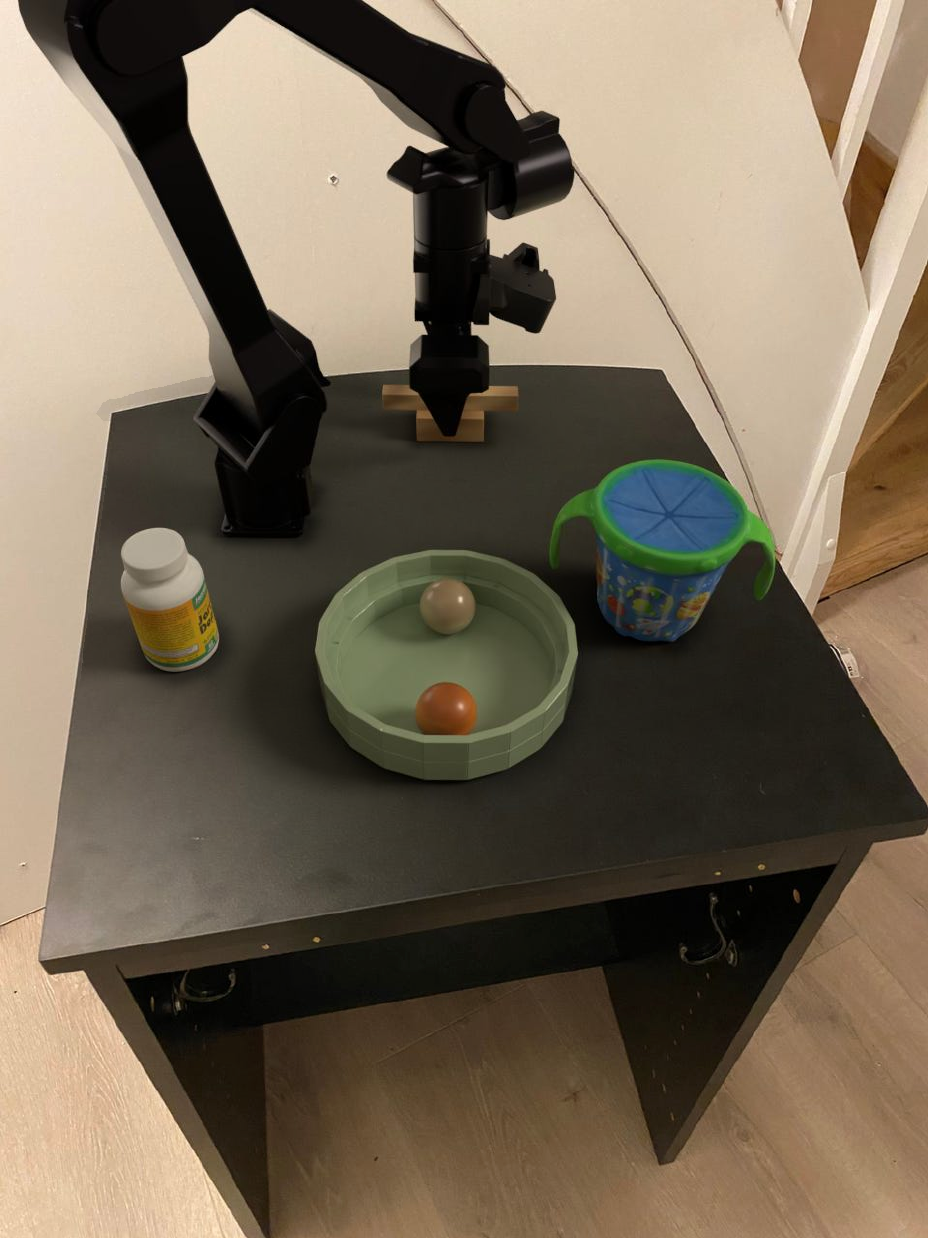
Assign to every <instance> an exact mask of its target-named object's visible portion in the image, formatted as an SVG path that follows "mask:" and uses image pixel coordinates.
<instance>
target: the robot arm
mask: <svg viewBox="0 0 928 1238" xmlns="http://www.w3.org/2000/svg"><path fill="white" fill-rule="evenodd" d="M17 5H18V11H19V13H20V16H21V18H22V22H23V25H24V27H25V30H26V32H27V33H28V34H29V36H30V38H31V39H32V40H33V42H34V43H35V45H36V46H37V47H38V49H39V50H40V51H41V53H42V55H43V56H44V57H45V58H46V60H47V62H48V63H49V64H50V65H51V67H52V68H53V69H54V71H55V72H56V73H57V75H58V77H59V78H60V79H61V80H62V82H63V83H64V84H65V86H66V88H68V90H69V91H70V92H71V93H72V94H73V96H74V97H75V98H76V99H77V100H78V102H79V103H80V104H81V105H82V106H83V108H84V109H85V110H86V111H87V112H88V113H89V115H90V116H91V117H92V118H93V120H94V121H95V122H96V123H97V124H98V125H99V127H100V128H101V130H103V131H104V133H105V134H106V135H107V136H108V138H109V139H110V140H111V142H112V143H113V144H114V147H115V149H116V150H117V152H118V154H119V156H120V158H121V160H122V162H123V164H124V166H125V168H126V170H127V172H128V174H129V176H130V178H131V180H132V183H133V184H134V186H135V188H136V190H137V192H138V194H139V196H140V198H141V200H142V202H143V204H144V206H145V208H146V210H147V212H148V214H149V216H150V218H151V219H152V222H153V223H154V225H155V228H156V230H157V231H158V234H159V236H160V237H161V240H162V242H163V243H164V245H165V247H166V249H167V251H168V253H169V256H170V257H171V259H172V261H173V264H174V266H175V267H176V270H177V272H178V274H179V275H180V277H181V280H182V281H183V283H184V286H185V287H186V289H187V291H188V294H189V295H190V297H191V299H192V301H193V303H194V304H195V307H196V309H197V311H198V313H199V315H200V317H201V319H202V321H203V323H204V325H205V327H206V330H207V333H208V361H209V365H210V369H211V372H212V375H213V377H214V383H213V385H212V386H211V388H209V389H210V390H209V391H208V393H207V394H206V396H205V397H204V399H203V401H202V403H201V404H200V406H199V408H198V409H197V410H196V412H195V414H194V416H193V422H195V424H196V426H197V427H198V428H199V429H200V431H201V432H202V433H203V435H204V436H205V437H206V438H208V439H210V441H212V442H213V443H214V444H215V445H216V446H217V448H216V452H215V455H214V459H213V464H214V469H215V474H216V478H217V482H218V487H219V493H220V496H221V501H222V505H223V510H224V517H223V521H222V525H221V533H222V535H223V536H227V537H300V536H302V535H303V534H304V531H305V530H304V529H305V525H306V518H307V517H309V516H310V515H311V513H312V507H313V501H314V496H315V495H314V488H313V480H312V471H311V464H312V461H313V460H312V459H313V455H314V451H315V446H316V442H317V437H318V434H319V428H320V423H321V420H322V417H323V415H324V414H325V413H326V412H327V411H328V398H327V394H326V390H325V388H327V387H330V386H331V381H330V380H329V379H328V378H326V377H325V375H324V373H323V372H322V370H321V368H320V365H319V358H318V355H317V350H316V348H315V345H314V343H313V341H312V340H311V339H310V338H309V337H308V336H306V335H305V334H303V333H302V332H301V331H300V330H299V329H297V328H296V327H294V326H293V325H292V324H291V323H289V322H288V321H287V320H285V319H284V318H283V317H281V316H280V315H279V314H277V312H275V311H273V309H272V308H269V309H268V307H267V305H266V303H265V301H264V298H263V295H262V294H261V291H260V289H259V286H258V284H257V282H256V279H255V277H254V275H253V272H252V271H251V268H250V266H249V264H248V260H247V258H246V257H245V254H244V252H243V250H242V247H241V245H240V242H239V240H238V238H237V236H236V233H235V231H234V228H233V226H232V224H231V222H230V219H229V217H228V214H227V212H226V210H225V208H224V206H223V203H222V201H221V198H220V196H219V194H218V191H217V189H216V187H215V184H214V182H213V180H212V178H211V175H210V173H209V171H208V169H207V165H206V164H205V161H204V160H203V157H202V154H201V152H200V149H199V148H198V146H197V143H196V141H195V138H194V136H193V132H192V131H191V127H190V121H189V77H188V73H187V69H186V64H185V61H184V57H185V56H187V55H189V54H191V53H193V52H196V51H197V50H199V49H201V48H204V47H205V46H207V45H208V44H209V43H210V42H212V40H214V39H215V38H216V36H218V35H219V34H220V33H221V31H223V30H224V29H225V28H226V27H227V26H228V25H229V24H230V23H231V22H232V21H233V20H234V19H235V18H236V17H237V16H238V15H240V14H242V13H244V12H246V11H248V12H250V13H252V14H253V15H255V16H256V17H258V18H260V19H262V20H263V21H265V22H267V23H268V24H270V25H271V26H273V27H274V28H277V29H278V30H280V31H282V32H284V33H285V34H287V35H288V36H290V37H292V38H293V39H295V40H297V41H298V42H300V43H301V44H303V45H305V46H307V47H309V48H310V49H312V50H313V51H315V52H317V54H320V55H321V56H323V57H325V58H326V59H329V60H330V61H332V62H333V63H335V64H337V65H338V66H340V67H342V68H344V69H345V70H347V71H348V72H350V73H351V74H353V75H355V76H357V77H358V78H359V79H361V80H362V81H363V82H364V83H365V84H366V85H367V86H368V87H369V88H370V89H371V90H372V91H373V93H374V94H375V95H376V98H378V100H379V102H380V103H382V104H383V105H384V106H385V107H386V108H387V109H388V110H389V111H391V112H392V113H393V115H395V116H396V117H397V119H399V120H400V121H401V122H402V123H403V124H404V125H405V126H407V127H408V128H410V129H412V130H414V131H415V132H418V133H420V134H421V135H424V136H426V137H428V138H430V139H432V140H434V141H436V142H438V143H439V144H442V145H444V146H446V147H442V148H438V149H434V150H431V151H427V152H425V151H422V150H420V149H418V148H416V147H414V146H413V145H407V146H406V147H405V149H404V151H403V154H402V155H401V156H400V157H399V158H398V159H397V160H395V161H394V162H393V163H392V164H391V166H390V167H389V169H388V170H387V171H386V178H387V180H388V181H390V182H392V183H394V184H396V185H397V186H400V187H401V188H403V189H404V190H407V191H409V192H410V193H412V220H413V221H412V222H413V253H412V254H413V256H412V257H413V258H412V265H413V266H412V271H413V272H412V273H413V274H414V294H415V295H414V297H415V298H414V308H413V311H414V315H413V317H414V322H415V323H416V322H418V323H419V322H421V323H422V324H423V327H424V329H425V331H426V334H421V335H420V336H418V337H417V338H416V339H415V340H414V341H413V342H412V343H410V344H409V345H410V346H409V362H408V381H409V382H408V383H409V384H408V385H410V389H411V390H413V391H415V392H416V393H418V394H419V396H420V397H421V399H422V400H423V402H424V403H425V405H426V407H427V408H428V410H429V412H430V413H431V415H432V417H433V419H434V421H435V422H436V424H437V426H438V428H439V430H440V431H441V433H442V435H443V436H444V437H454V436H456V433H457V430H458V427H459V423H460V420H461V416H462V413H463V410H464V406H465V403H466V400H467V397H468V396H469V395H470V394H471V393H483V392H485V391H487V390H489V386H490V371H491V370H490V369H491V368H490V365H491V364H490V346H489V344H488V343H486V342H485V340H483V338H481V336H479V335H478V334H473V333H472V331H473V330H472V324H473V325H474V326H489V325H490V316H492V317H494V318H495V319H498V320H500V321H503V322H506V323H509V324H511V325H514V326H517V327H520V328H522V329H524V331H525V332H528V333H530V334H540V333H541V332H542V330H543V328H544V326H545V324H546V321H547V319H548V316H549V315H550V313H551V311H552V309H553V307H554V305H555V303H556V301H557V293H556V288H555V280H554V278H553V277H552V276H551V275H550V272H549V269H547V268H543V269H542V270H541V268H540V265H541V264H540V255H539V248H538V247H537V246H534V245H532V244H529V243H527V242H521V243H520V244H519V245H518V246H516V247H515V248H514V249H513V250H512V251H511V252H510V253H508V254H506V253H503V255H502V257H500V256H498V255H497V256H496V255H493V254H491V241H490V238H488V217H489V215H488V214H490V215H491V216H492V217H494V218H495V219H497V220H500V221H507V220H511V219H514V218H517V217H520V216H523V215H525V214H526V215H527V214H529V213H531V212H534V211H537V210H540V209H544V208H546V207H549V206H551V205H555V204H558V203H561V202H562V201H564V200H565V199H566V198H568V196H569V194H570V193H571V191H572V188H573V186H574V182H575V181H574V180H575V174H576V173H575V172H576V171H575V167H574V166H573V160H572V155H571V153H570V152H571V151H570V149H569V147H568V145H567V143H566V142H567V141H565V139H564V138H563V136H562V135H561V134H560V123H561V119H560V117H558V116H557V115H553V114H551V113H550V112H548V111H544V110H539V111H536V112H535V111H534V112H532V113H530V114H528V115H527V116H525V117H523V118H521V119H517V118H516V116H515V114H514V112H513V111H512V109H511V107H510V105H509V104H508V101H507V100H506V99H507V98H506V87H507V82H506V79H505V77H504V75H503V73H502V72H501V71H500V70H499V69H498V68H497V67H496V66H494V65H493V64H490V63H489V62H486V61H483V60H480V59H478V58H476V57H473V56H470V55H468V54H465V53H464V52H461V51H459V50H457V49H456V50H455V49H453V48H450V47H448V46H446V45H444V44H442V43H438V42H435V41H433V40H431V39H428V38H426V37H422V36H420V35H417V34H415V33H412V32H410V31H408V30H406V29H405V28H404V27H402V26H400V25H399V24H398V23H397V22H395V21H394V20H392V19H390V18H389V17H387V15H385V14H383V13H382V12H380V11H379V10H377V8H374V7H373V6H372V5H370V4H369V3H367V2H366V1H364V0H17ZM324 387H325V388H324Z"/></svg>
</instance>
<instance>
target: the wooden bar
mask: <svg viewBox="0 0 928 1238" xmlns="http://www.w3.org/2000/svg"><path fill="white" fill-rule="evenodd" d="M381 397H382V410H383V411H417V410H428V408H427V407H426V405H425V403H424V402H423V400H422V399H421V397H420V396H419V394H418V393H416V392H415V391H413V390H411V389H410V385H409V384H383V385H382V394H381ZM518 408H519V387H518V385H517V386H516V385H489V390H487V391H485V392H483V393H471V394H470V395H469V396H468V397H467V400H466V403H465V406H464V410H463V411H484V412H518V410H519V409H518Z"/></svg>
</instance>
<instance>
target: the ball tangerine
mask: <svg viewBox="0 0 928 1238" xmlns="http://www.w3.org/2000/svg"><path fill="white" fill-rule="evenodd" d="M415 718H416V723H417V725H418V728H419V729H420V731H421V732H422V734H423V735H469V734H470V732H471V731H472V730H473V728H474V726H475V723H476V720H477V707H476V703H475V701H474V698H473V697H472V695H471V694H470V693H469V692H468V691H467V690H466V689H465V688H464V687H462V686H460V685H458V684H456V683H452V682H441V683H437V684H434V685H432V686H430V687H429V688H427V689H426V690H425V691H424V692H423V693H422V694H421V696H420V697H419V699H418V701H417V704H416V708H415Z"/></svg>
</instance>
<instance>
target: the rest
mask: <svg viewBox="0 0 928 1238" xmlns="http://www.w3.org/2000/svg"><path fill="white" fill-rule="evenodd" d="M415 416H416V418H415V419H416V420H415V422H416V424H415V425H416V442H449V443H454V442H458V443H462V442H463V443H483V442H484V430H485V411H463V413H462V416H461V420H460V423H459V427H458V430H457V433H456V436H454V437H444V436H443V435H442V433H441V431H440V430H439V428H438V426H437V424H436V422H435V421H434V419H433V417H432V415H431V413H430V412H429V410H416V415H415Z"/></svg>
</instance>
